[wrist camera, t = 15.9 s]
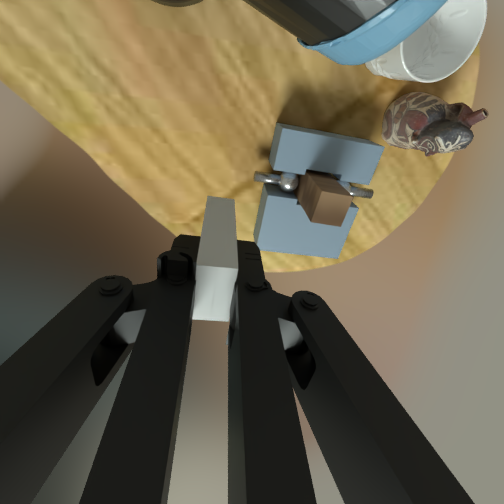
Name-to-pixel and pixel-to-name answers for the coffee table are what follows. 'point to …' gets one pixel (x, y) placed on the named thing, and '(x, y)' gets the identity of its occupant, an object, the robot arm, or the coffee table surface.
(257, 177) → the plunger
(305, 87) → the coffee table surface
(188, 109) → the coffee table surface
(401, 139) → the figurine
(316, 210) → the peg
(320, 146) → the socket board
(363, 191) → the plunger
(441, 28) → the white cup
